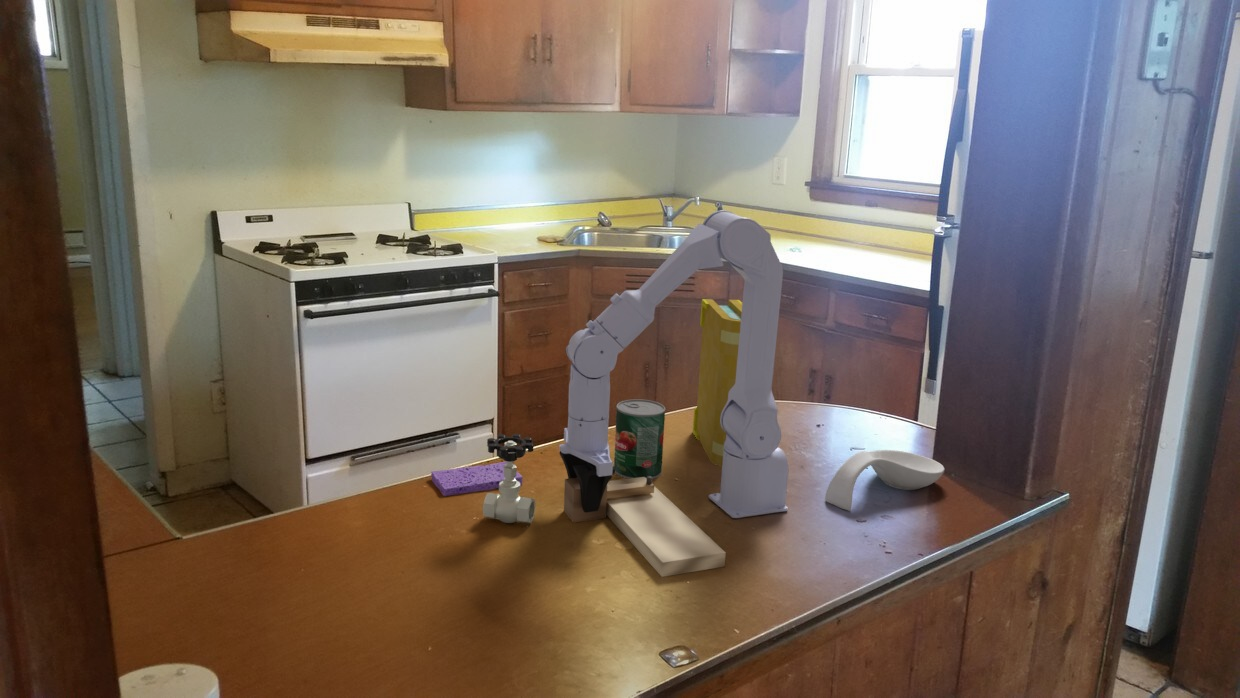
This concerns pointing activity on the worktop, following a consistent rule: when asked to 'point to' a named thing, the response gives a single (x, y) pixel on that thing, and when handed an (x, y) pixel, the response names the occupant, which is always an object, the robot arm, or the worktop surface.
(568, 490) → the mallet
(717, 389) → the book
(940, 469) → the spoon rest
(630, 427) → the canned tomato
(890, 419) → the worktop surface
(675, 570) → the board
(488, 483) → the sponges
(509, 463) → the valve
